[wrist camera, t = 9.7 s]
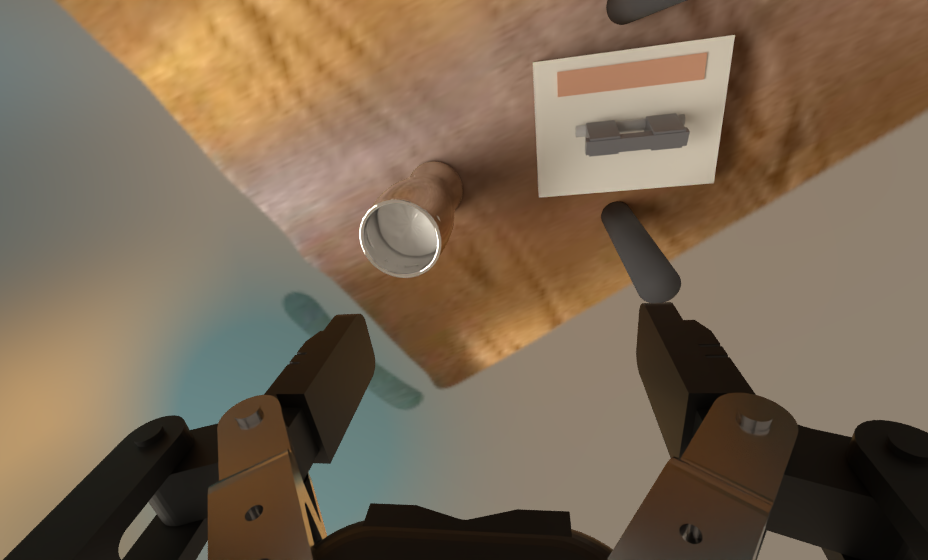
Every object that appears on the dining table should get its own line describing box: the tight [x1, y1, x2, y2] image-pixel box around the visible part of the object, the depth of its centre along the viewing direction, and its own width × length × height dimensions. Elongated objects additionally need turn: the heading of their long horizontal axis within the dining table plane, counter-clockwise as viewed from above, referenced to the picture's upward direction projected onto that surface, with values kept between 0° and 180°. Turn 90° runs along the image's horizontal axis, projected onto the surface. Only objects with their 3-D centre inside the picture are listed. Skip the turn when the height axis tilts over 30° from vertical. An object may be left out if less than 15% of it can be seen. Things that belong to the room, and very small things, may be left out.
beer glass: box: [359, 161, 463, 278], centre depth 39 cm, size 7×7×15 cm
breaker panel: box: [533, 35, 735, 197], centre depth 39 cm, size 12×16×3 cm
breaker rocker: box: [575, 113, 690, 157], centre depth 36 cm, size 2×9×4 cm, turn 98°
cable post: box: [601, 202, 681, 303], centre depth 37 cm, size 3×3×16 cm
